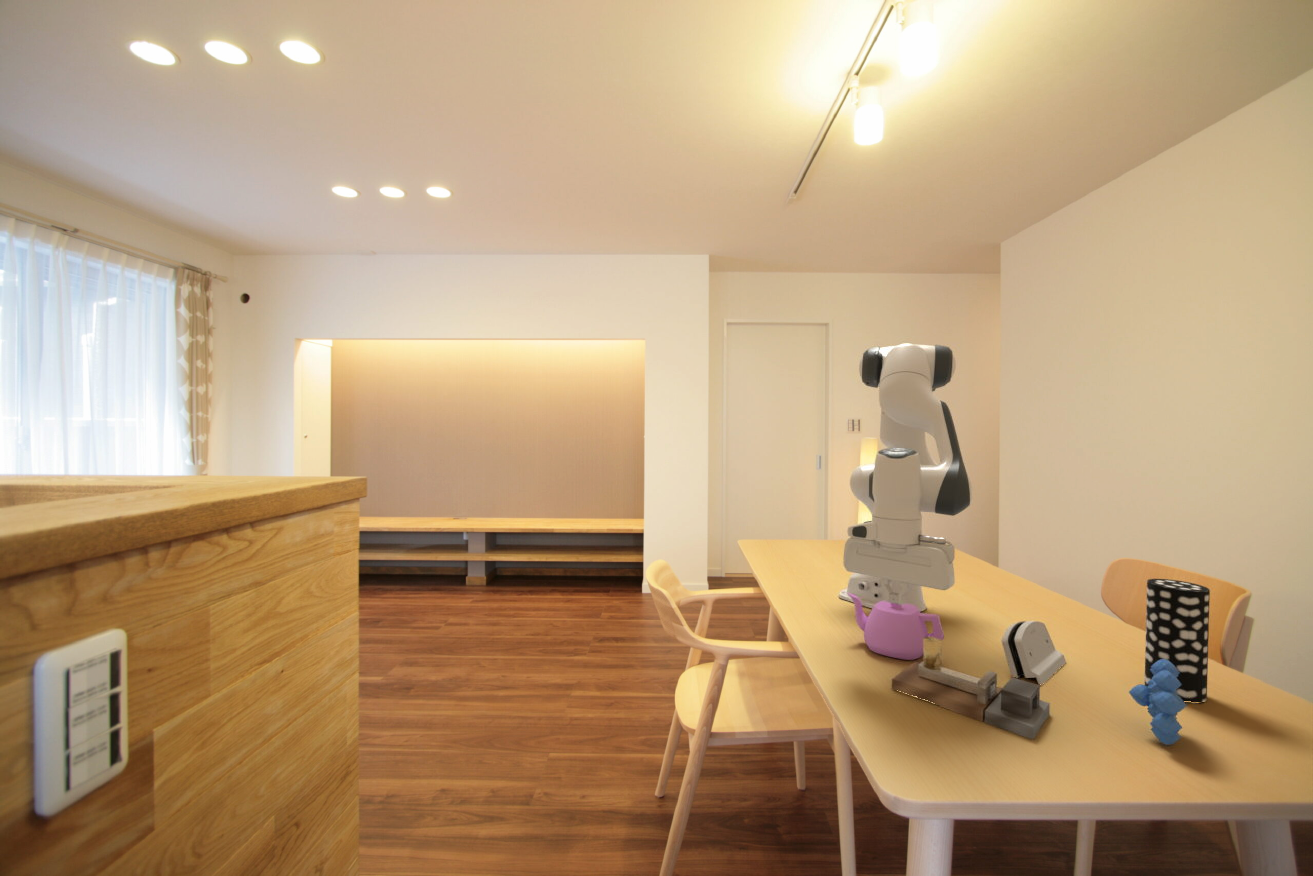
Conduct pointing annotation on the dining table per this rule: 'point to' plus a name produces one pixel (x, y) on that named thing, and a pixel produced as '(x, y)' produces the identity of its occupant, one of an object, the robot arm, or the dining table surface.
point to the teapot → (896, 628)
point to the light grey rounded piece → (1031, 651)
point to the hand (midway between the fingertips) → (895, 603)
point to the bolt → (946, 670)
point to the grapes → (1162, 700)
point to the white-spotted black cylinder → (1179, 633)
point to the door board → (983, 700)
